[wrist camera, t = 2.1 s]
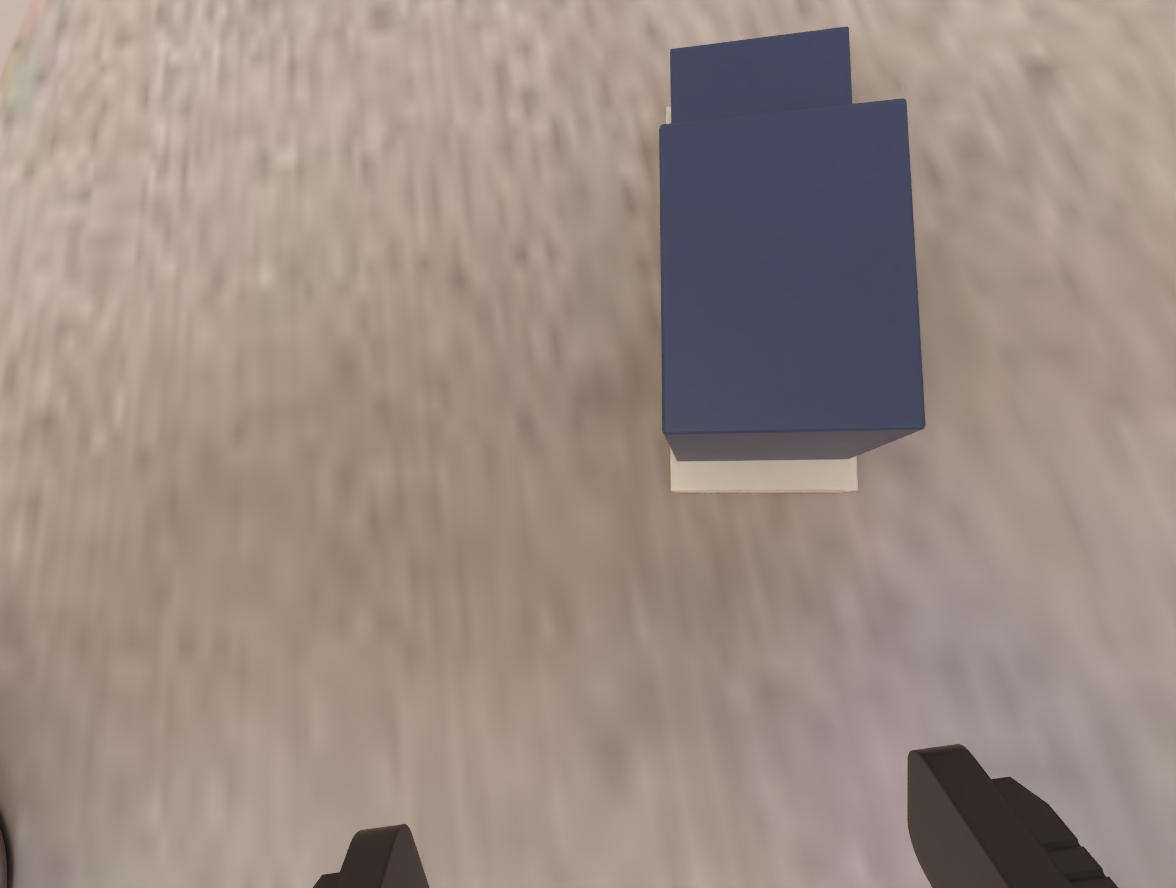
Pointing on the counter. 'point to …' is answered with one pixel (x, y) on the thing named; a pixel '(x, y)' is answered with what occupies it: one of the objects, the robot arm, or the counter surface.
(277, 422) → the counter surface
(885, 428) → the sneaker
